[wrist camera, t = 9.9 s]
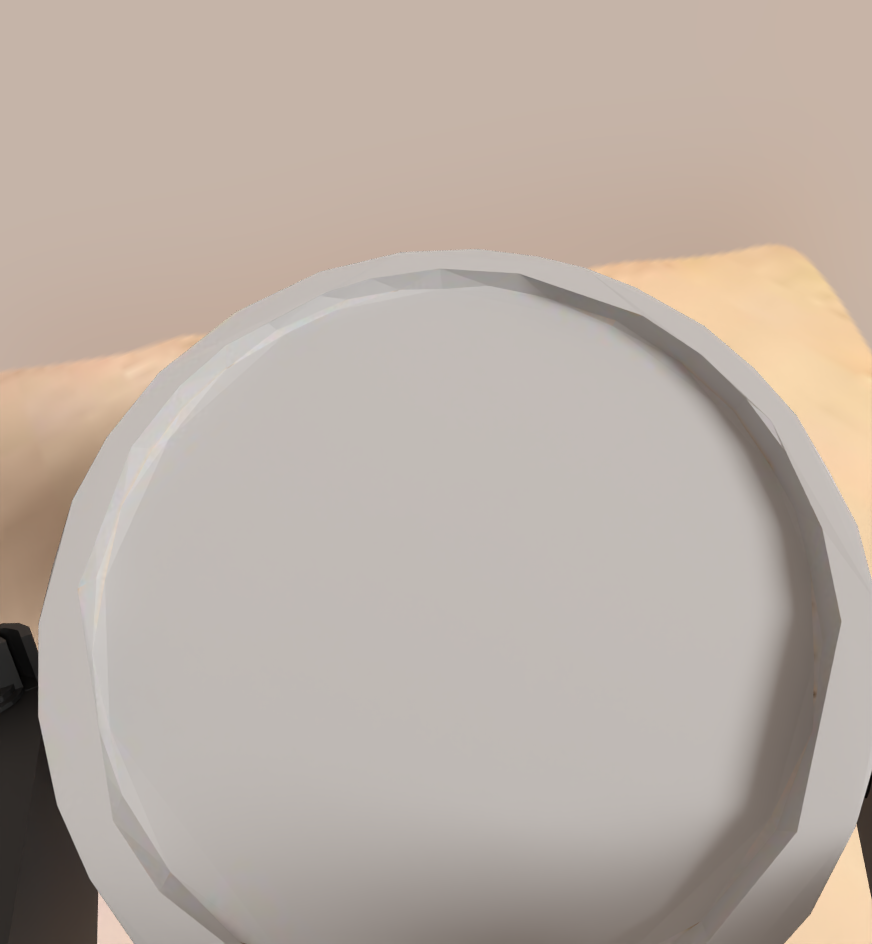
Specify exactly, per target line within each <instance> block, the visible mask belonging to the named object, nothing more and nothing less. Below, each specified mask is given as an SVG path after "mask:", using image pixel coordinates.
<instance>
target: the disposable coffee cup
mask: <svg viewBox="0 0 872 944" xmlns="http://www.w3.org/2000/svg"><path fill="white" fill-rule="evenodd" d="M38 717H39V722H40V727H41V732H42V736H43V741H44V746H45V750H46V755H47V760H48V765H49V769H50V774H51V779H52V783H53V788H54V793H55V798H56V802H57V806H58V808H59V810H60V813H61V815H62V817H63V820H64V822H65V824H66V826H67V829H68V831H69V833H70V835H71V838H72V840H73V842H74V844H75V847H76V849H77V851H78V853H79V856H80V858H81V860H82V863H83V865H84V867H85V869H86V872H87V874H88V876H89V878H90V880H91V882H92V883H93V885H94V886H95V887H96V889H97V890H98V892H99V893H100V895H101V896H102V898H103V899H104V901H105V902H106V903H107V905H108V906H109V908H110V909H111V911H112V912H113V914H114V915H115V917H116V918H117V920H118V921H119V922H120V924H121V925H122V927H123V928H124V930H125V931H126V933H127V934H128V936H129V937H130V938H131V940H132V941H133V943H134V944H784V943H785V942H786V941H787V940H788V939H789V937H790V936H791V935H792V934H793V933H794V932H795V931H796V930H797V928H798V927H799V926H800V925H801V924H802V923H803V922H804V921H805V919H806V918H807V917H808V916H809V915H810V914H811V912H812V910H813V908H814V906H815V904H816V902H817V900H818V898H819V896H820V894H821V893H822V891H823V889H824V887H825V885H826V883H827V881H828V879H829V877H830V875H831V873H832V871H833V869H834V867H835V865H836V864H837V862H838V860H839V858H840V856H841V854H842V852H843V850H844V848H845V846H846V844H847V842H848V840H849V838H850V836H851V834H852V833H853V831H854V829H855V827H856V824H857V820H858V817H859V813H860V810H861V806H862V803H863V799H864V796H865V793H866V789H867V786H868V782H869V779H870V775H871V772H872V579H871V576H870V572H869V568H868V564H867V560H866V556H865V553H864V549H863V545H862V541H861V537H860V534H859V530H858V526H857V524H856V522H855V520H854V518H853V516H852V514H851V512H850V510H849V509H848V507H847V505H846V503H845V501H844V499H843V497H842V495H841V493H840V491H839V489H838V488H837V486H836V484H835V482H834V480H833V478H832V476H831V474H830V472H829V470H828V469H827V467H826V465H825V464H824V462H823V460H822V458H821V457H820V455H819V453H818V452H817V450H816V448H815V446H814V445H813V443H812V441H811V439H810V438H809V436H808V434H807V433H806V431H805V429H804V427H803V426H802V424H801V422H800V421H799V419H798V417H797V415H796V414H795V413H794V412H793V411H792V410H791V409H790V408H789V407H788V405H787V404H786V403H785V402H784V401H783V400H782V399H781V398H780V397H779V395H778V394H777V393H776V392H775V391H774V390H773V389H772V388H771V387H770V385H769V384H768V383H767V382H766V381H765V380H764V379H763V378H762V377H761V375H760V374H759V373H758V372H757V371H756V370H755V369H754V368H753V367H752V366H751V365H750V364H748V363H747V362H746V361H745V360H744V359H742V358H741V357H740V356H739V355H738V354H737V353H735V352H734V351H733V350H732V349H731V348H729V347H728V346H727V345H726V344H725V343H724V342H722V341H721V340H720V339H719V338H718V337H716V336H715V335H714V334H713V333H712V332H711V331H709V330H708V329H707V328H706V327H705V326H703V325H701V324H700V323H698V322H696V321H694V320H693V319H691V318H689V317H687V316H685V315H684V314H682V313H680V312H678V311H676V310H675V309H673V308H671V307H669V306H668V305H666V304H664V303H662V302H660V301H659V300H657V299H655V298H653V297H651V296H650V295H648V294H646V293H644V292H643V291H641V290H639V289H637V288H635V287H633V286H630V285H628V284H625V283H622V282H620V281H617V280H615V279H612V278H610V277H607V276H604V275H602V274H599V273H597V272H594V271H592V270H589V269H587V268H584V267H579V266H575V265H571V264H567V263H563V262H558V261H555V260H550V259H546V258H542V257H536V256H529V255H522V254H514V253H506V252H497V251H489V250H481V249H467V250H445V251H421V252H401V253H397V254H393V255H388V256H384V257H380V258H376V259H371V260H367V261H363V262H359V263H355V264H351V265H346V266H342V267H338V268H334V269H329V270H325V271H321V272H318V273H316V274H314V275H312V276H310V277H308V278H306V279H304V280H301V281H300V282H297V283H296V284H293V285H291V286H289V287H287V288H285V289H283V290H281V291H279V292H276V293H274V294H272V295H270V296H268V297H266V298H264V299H262V300H260V301H258V302H256V303H254V304H251V305H249V306H247V307H245V308H243V309H241V310H239V311H237V312H235V313H234V314H232V315H231V316H230V317H229V318H227V319H226V320H225V321H224V322H223V323H221V324H220V325H219V326H217V327H216V328H215V329H213V330H212V331H211V332H210V333H208V334H207V335H206V336H205V337H203V338H202V339H201V340H200V341H198V342H197V343H196V344H195V345H193V346H192V347H191V348H190V349H188V350H187V351H186V352H185V353H183V354H182V355H181V356H179V357H178V358H177V359H176V360H174V361H173V362H172V363H171V364H169V365H168V366H167V367H166V368H164V369H163V370H162V371H161V372H159V373H158V375H157V376H156V377H155V378H154V380H153V381H152V382H151V383H150V385H149V386H148V387H147V388H146V390H145V391H144V392H143V393H142V394H141V396H140V397H139V398H138V399H137V401H136V402H135V403H134V404H133V406H132V407H131V408H130V409H129V411H128V412H127V413H126V414H125V416H124V417H123V418H122V419H121V420H120V422H119V423H118V424H117V425H116V427H115V428H114V429H113V430H112V432H111V433H110V434H109V435H108V437H107V438H106V440H105V442H104V443H103V445H102V447H101V449H100V451H99V453H98V454H97V456H96V458H95V460H94V462H93V464H92V465H91V467H90V469H89V471H88V473H87V474H86V476H85V478H84V480H83V482H82V484H81V485H80V487H79V489H78V491H77V493H76V495H75V496H74V498H73V500H72V503H71V507H70V510H69V513H68V517H67V520H66V523H65V527H64V530H63V533H62V537H61V540H60V543H59V547H58V550H57V553H56V557H55V560H54V563H53V567H52V571H51V575H50V579H49V583H48V588H47V592H46V596H45V600H44V604H43V608H42V612H41V616H40V620H39V650H38Z"/></svg>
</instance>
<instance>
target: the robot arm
mask: <svg viewBox="0 0 872 944" xmlns="http://www.w3.org/2000/svg"><path fill="white" fill-rule="evenodd" d="M857 828H858V833H859V838H860V843H861V848H862V853H863V858H864V863H865V868H866V873H867V878H868V883H869V888H870V893H871V897H872V772H871V775H870V779H869V782H868V786H867V789H866V793H865V796H864V799H863V803H862V806H861V810H860V813H859V817H858V820H857ZM97 919H98V890H97V889H96V887H95V886H94V885H93V883H92V882H91V880H90V878H89V876H88V874H87V872H86V869H85V867H84V865H83V863H82V860H81V858H80V856H79V853H78V851H77V849H76V847H75V844H74V842H73V840H72V838H71V835H70V833H69V831H68V829H67V826H66V824H65V822H64V820H63V817H62V815H61V813H60V810H59V808H58V806H57V802H56V798H55V793H54V788H53V783H52V779H51V774H50V769H49V765H48V760H47V755H46V750H45V746H44V741H43V736H42V732H41V727H40V722H39V717H38V650H37V647H36V644H35V642H34V639H33V636H32V633H31V631H30V628H29V627H28V626H25V625H23V624H20V623H3V624H0V944H97Z"/></svg>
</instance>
